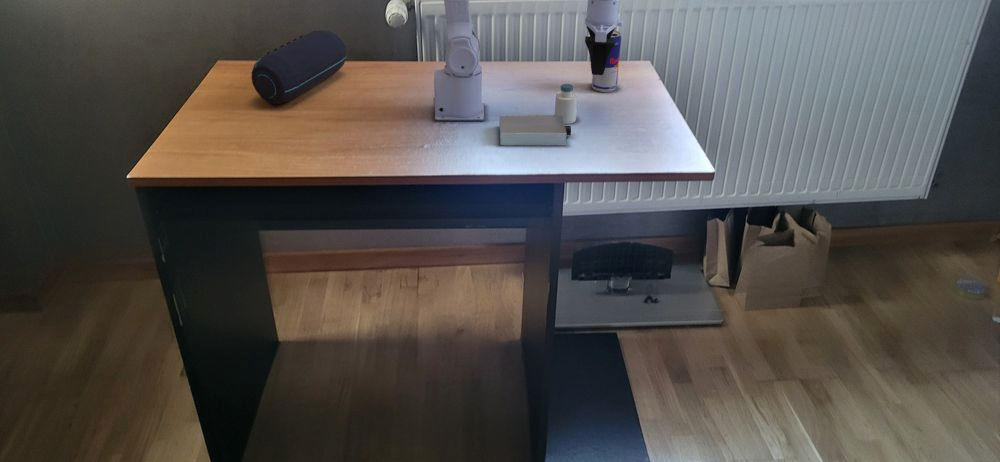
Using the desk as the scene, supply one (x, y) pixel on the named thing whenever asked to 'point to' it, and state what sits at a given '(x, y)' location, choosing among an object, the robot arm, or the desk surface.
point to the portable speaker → (298, 66)
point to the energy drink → (609, 68)
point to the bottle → (566, 104)
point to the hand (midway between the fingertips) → (597, 67)
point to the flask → (533, 130)
